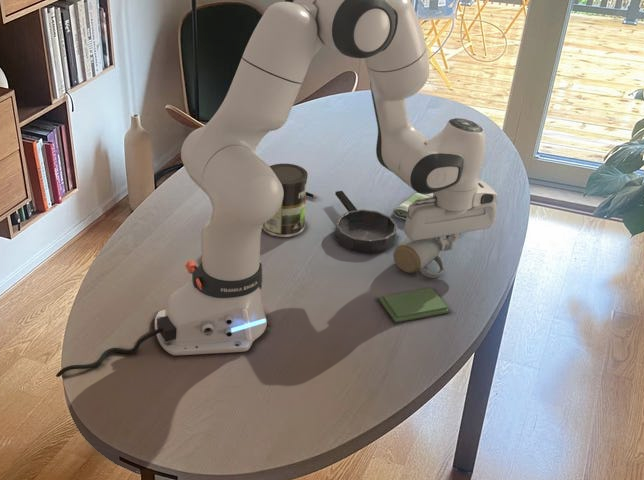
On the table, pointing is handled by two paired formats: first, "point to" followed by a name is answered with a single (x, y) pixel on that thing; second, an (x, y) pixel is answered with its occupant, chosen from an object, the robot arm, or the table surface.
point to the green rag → (413, 305)
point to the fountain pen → (310, 195)
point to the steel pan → (364, 229)
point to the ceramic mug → (418, 256)
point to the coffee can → (289, 202)
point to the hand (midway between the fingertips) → (445, 249)
